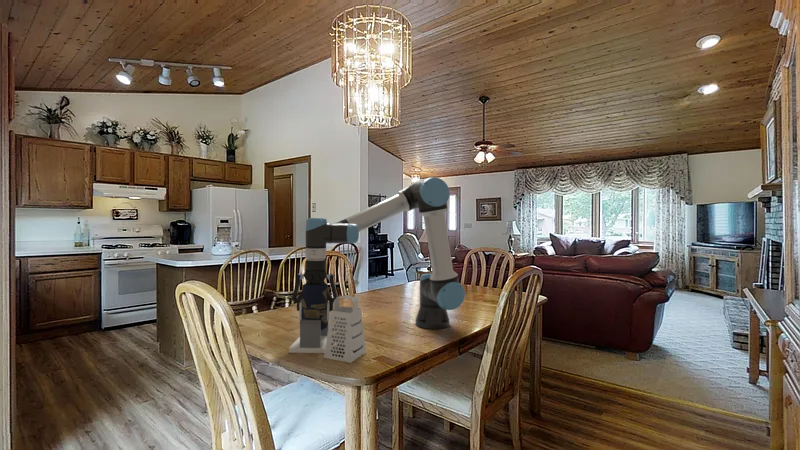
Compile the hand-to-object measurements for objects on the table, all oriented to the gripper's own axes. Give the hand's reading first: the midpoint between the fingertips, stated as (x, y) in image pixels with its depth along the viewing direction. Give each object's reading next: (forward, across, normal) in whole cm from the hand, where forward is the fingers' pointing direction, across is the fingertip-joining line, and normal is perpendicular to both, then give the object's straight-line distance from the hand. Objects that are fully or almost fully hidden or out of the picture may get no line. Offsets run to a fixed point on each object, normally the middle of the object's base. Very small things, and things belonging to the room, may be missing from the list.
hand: (314, 319), depth 141 cm
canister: (+4, 0, 0) cm, 4 cm away
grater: (+10, +13, -10) cm, 19 cm away
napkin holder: (+9, 0, 0) cm, 9 cm away
